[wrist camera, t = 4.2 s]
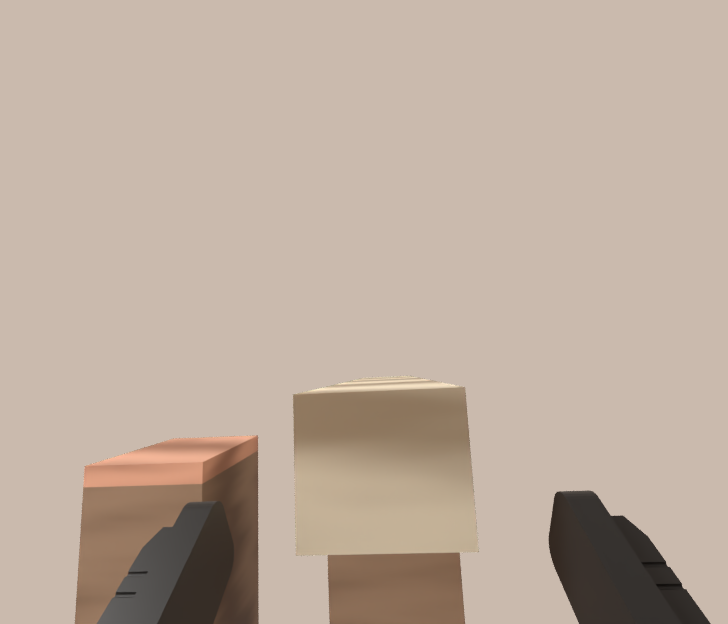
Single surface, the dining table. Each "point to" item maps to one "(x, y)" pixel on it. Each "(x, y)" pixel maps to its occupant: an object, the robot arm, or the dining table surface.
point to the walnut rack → (238, 538)
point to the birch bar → (383, 468)
